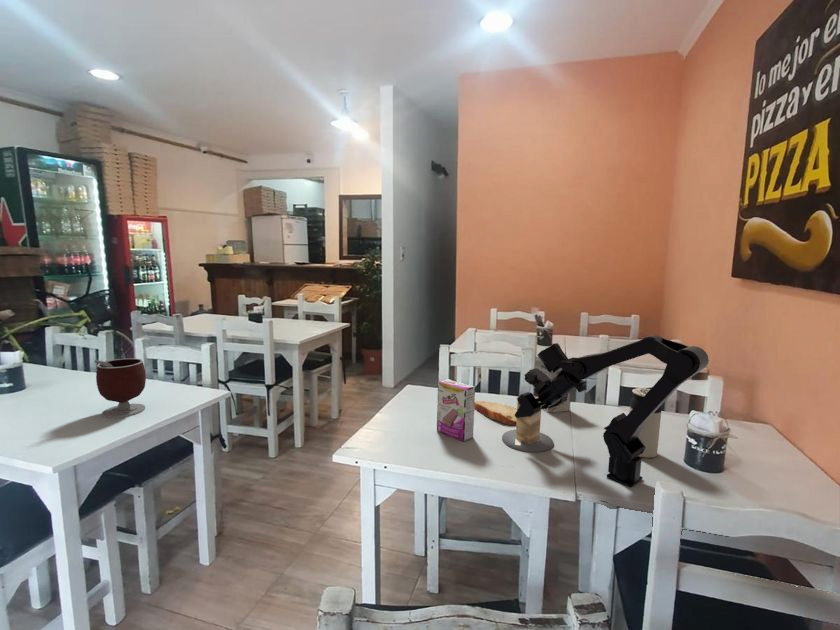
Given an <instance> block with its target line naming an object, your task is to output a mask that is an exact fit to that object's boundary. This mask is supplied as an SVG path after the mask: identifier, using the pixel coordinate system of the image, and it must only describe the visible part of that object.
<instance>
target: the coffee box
mask: <svg viewBox="0 0 840 630" xmlns="http://www.w3.org/2000/svg"><path fill="white" fill-rule="evenodd" d="M540 370H541V371H542V372H543V373H544V374H546V375H547V376H548V377H549V378H550V379H552V378H554V377H555V376H556V375H557V374H559V373H560V372H561V371H563V369H562V370H561V371H559V372H557V373H553V371H552V372H551V373H550V372H548V370H547V369H546V367H545V366H544V365H543V364H542V365H540ZM571 394H572V391H571V392H569V393H568V395H567V401H565V402H564V403H562V404H560V405H558V406H555V407H551V408H546V409H542V411H544V412H546V413H548V414H549V413H558V412H559V413H560V412H567V411H568V412H569V411H571V410H570V409H571ZM558 401H559V400H558Z"/></svg>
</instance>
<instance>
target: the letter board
mask: <svg viewBox="0 0 840 630" xmlns="http://www.w3.org/2000/svg"><path fill="white" fill-rule="evenodd" d="M501 440H502V442H503V444H504V445H506V446H508V447H509V448H511V449H514V450H517V451H520V452H525V453H526V452H527V453H542V452H547V451H549V450H551V449H552V448H553V447H554V440H553V439H552V438H551V437H550V436H549V435H547V434H545V433H542V432H540V438H539V440H538V441H535V442H533V443H531V444H528V443H525V442H523V441H520V440H518V439H516V429H510V430H508V431H506V432H504V433H503V434H502V436H501Z"/></svg>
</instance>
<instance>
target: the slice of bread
mask: <svg viewBox="0 0 840 630" xmlns="http://www.w3.org/2000/svg"><path fill="white" fill-rule="evenodd" d="M476 410H477V411H476ZM474 411H476V412H478V413H479V412H480V414H481V415H484V416H485V417H488V418H489V419H492V420H493V421H496V422H499V423H502V424H504V425H508V426H515V427H516V422H517V418H516V417H515V413H516V412H517V408H516V407H513V406H511V405H508V404H502V403H497V402H491V401H484V400H481V401H480V400H479V401H477V400H476V401H474Z"/></svg>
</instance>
